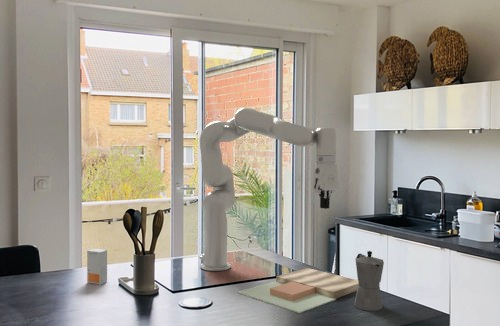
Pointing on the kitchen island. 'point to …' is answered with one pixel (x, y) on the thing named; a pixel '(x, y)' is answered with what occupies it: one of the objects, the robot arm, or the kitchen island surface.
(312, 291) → the terracotta tile
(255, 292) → the sage mat
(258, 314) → the kitchen island surface
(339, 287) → the board
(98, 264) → the skincare box
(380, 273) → the coffeepot
